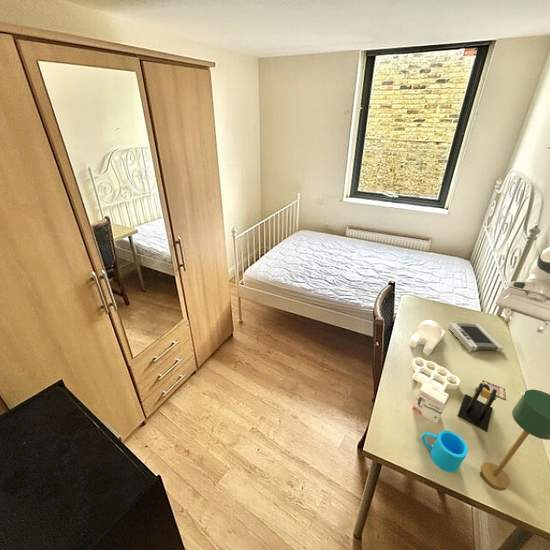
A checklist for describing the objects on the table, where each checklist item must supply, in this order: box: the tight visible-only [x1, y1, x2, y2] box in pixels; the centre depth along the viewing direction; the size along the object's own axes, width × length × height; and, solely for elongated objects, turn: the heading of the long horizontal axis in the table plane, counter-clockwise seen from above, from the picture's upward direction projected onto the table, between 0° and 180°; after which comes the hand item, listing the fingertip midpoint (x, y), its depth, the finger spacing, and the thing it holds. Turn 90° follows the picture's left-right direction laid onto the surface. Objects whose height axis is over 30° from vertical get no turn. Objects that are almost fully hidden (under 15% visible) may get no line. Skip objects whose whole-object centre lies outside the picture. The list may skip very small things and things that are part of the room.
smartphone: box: [481, 379, 507, 401], centre depth 117 cm, size 8×15×1 cm, turn 145°
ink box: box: [412, 382, 451, 424], centre depth 102 cm, size 9×5×12 cm, turn 47°
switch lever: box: [479, 384, 491, 400], centre depth 105 cm, size 13×3×3 cm, turn 140°
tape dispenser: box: [408, 319, 446, 356], centre depth 137 cm, size 10×18×11 cm, turn 135°
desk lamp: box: [479, 389, 550, 492], centre depth 79 cm, size 9×9×34 cm
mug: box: [420, 430, 469, 473], centre depth 91 cm, size 12×8×8 cm
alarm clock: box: [447, 321, 504, 353], centre depth 140 cm, size 17×5×16 cm
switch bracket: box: [457, 382, 498, 433], centre depth 103 cm, size 12×9×13 cm
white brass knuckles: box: [411, 357, 461, 392], centre depth 119 cm, size 3×18×15 cm
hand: (523, 326), depth 104 cm, fingers open, 8 cm apart
